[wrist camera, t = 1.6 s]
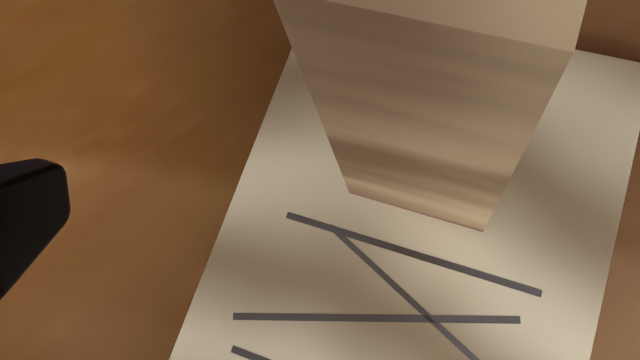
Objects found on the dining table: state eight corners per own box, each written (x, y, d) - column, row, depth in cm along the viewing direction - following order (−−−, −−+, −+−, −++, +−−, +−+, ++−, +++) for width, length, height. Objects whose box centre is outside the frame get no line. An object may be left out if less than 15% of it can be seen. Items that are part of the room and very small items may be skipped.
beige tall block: (482, 232, 19) (573, 52, 8) (349, 193, 21) (268, -12, 9) (520, 97, 21) (644, -221, 9) (392, 67, 22) (366, -247, 11)
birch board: (471, 850, 16) (475, 883, 15) (75, 630, 19) (56, 644, 18) (643, 78, 21) (654, 65, 20) (316, 9, 24) (312, -6, 23)
